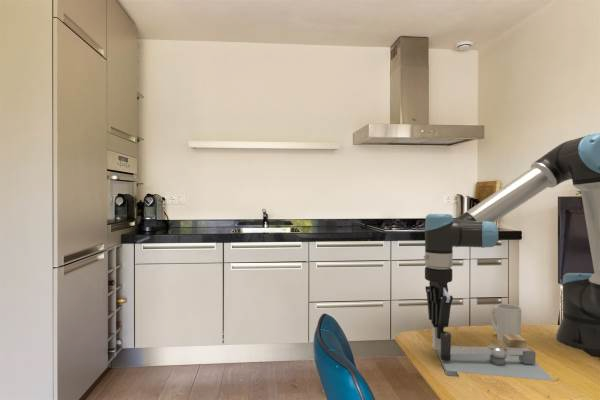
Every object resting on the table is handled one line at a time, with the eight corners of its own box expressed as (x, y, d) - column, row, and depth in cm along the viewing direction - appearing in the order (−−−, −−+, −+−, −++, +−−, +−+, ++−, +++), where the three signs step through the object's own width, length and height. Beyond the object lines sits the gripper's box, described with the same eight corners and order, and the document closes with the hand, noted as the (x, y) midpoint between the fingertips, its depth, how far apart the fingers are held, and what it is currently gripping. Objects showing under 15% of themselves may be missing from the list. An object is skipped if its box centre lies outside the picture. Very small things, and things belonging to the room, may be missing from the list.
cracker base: (524, 355, 108) (524, 345, 108) (554, 385, 90) (554, 373, 90) (435, 347, 113) (435, 337, 113) (446, 375, 95) (446, 363, 95)
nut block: (518, 350, 108) (518, 334, 108) (526, 356, 104) (526, 340, 104) (502, 349, 109) (502, 334, 109) (509, 355, 105) (509, 339, 105)
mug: (526, 347, 114) (526, 308, 114) (510, 349, 112) (510, 310, 112) (498, 336, 123) (498, 300, 124) (483, 338, 121) (483, 302, 121)
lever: (527, 358, 102) (527, 331, 102) (537, 365, 97) (537, 337, 97) (437, 356, 102) (438, 330, 102) (443, 363, 98) (443, 336, 98)
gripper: (417, 263, 112) (416, 340, 112) (435, 271, 99) (435, 358, 99) (440, 263, 113) (440, 339, 113) (462, 270, 100) (462, 357, 100)
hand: (438, 348), depth 106 cm, fingers closed
